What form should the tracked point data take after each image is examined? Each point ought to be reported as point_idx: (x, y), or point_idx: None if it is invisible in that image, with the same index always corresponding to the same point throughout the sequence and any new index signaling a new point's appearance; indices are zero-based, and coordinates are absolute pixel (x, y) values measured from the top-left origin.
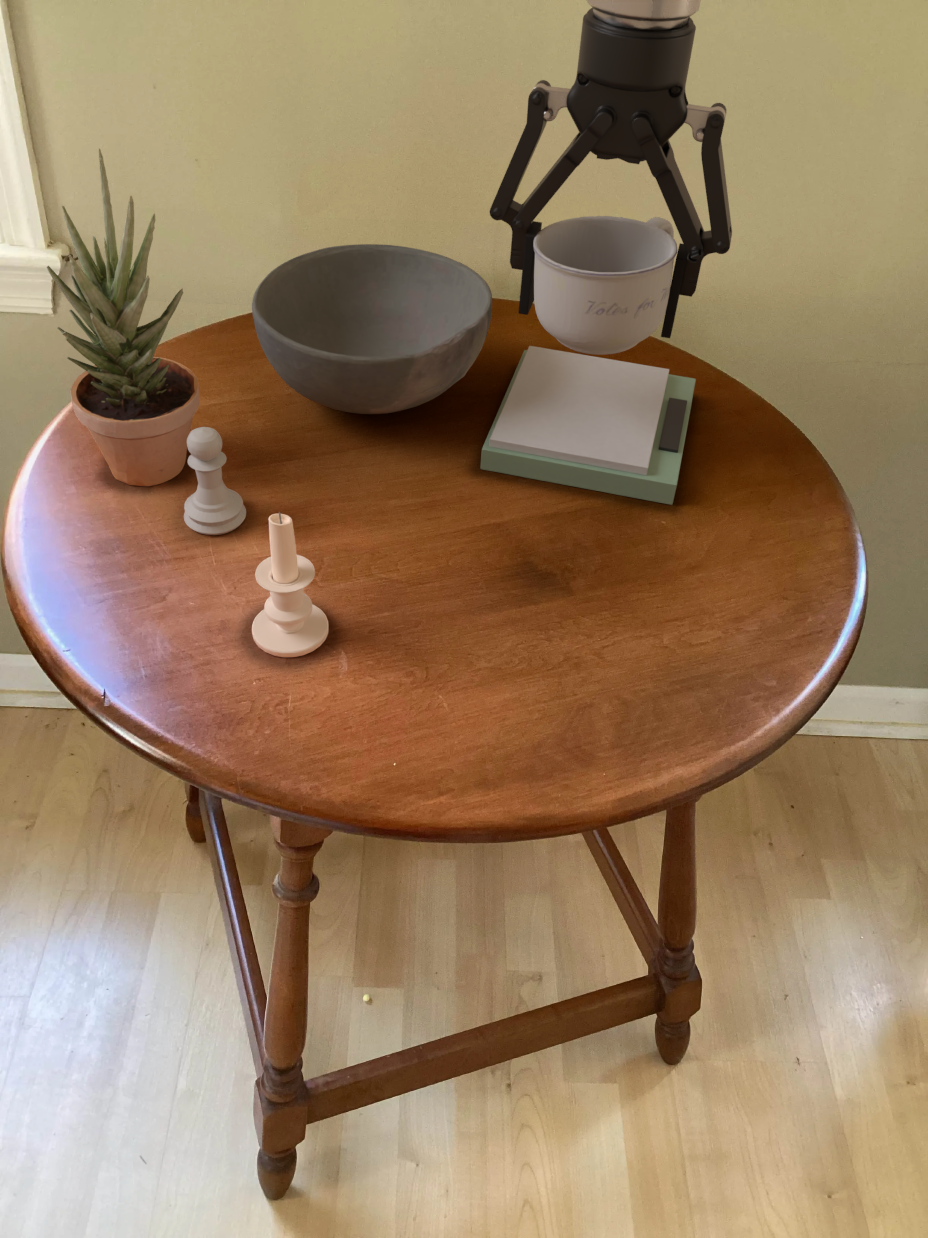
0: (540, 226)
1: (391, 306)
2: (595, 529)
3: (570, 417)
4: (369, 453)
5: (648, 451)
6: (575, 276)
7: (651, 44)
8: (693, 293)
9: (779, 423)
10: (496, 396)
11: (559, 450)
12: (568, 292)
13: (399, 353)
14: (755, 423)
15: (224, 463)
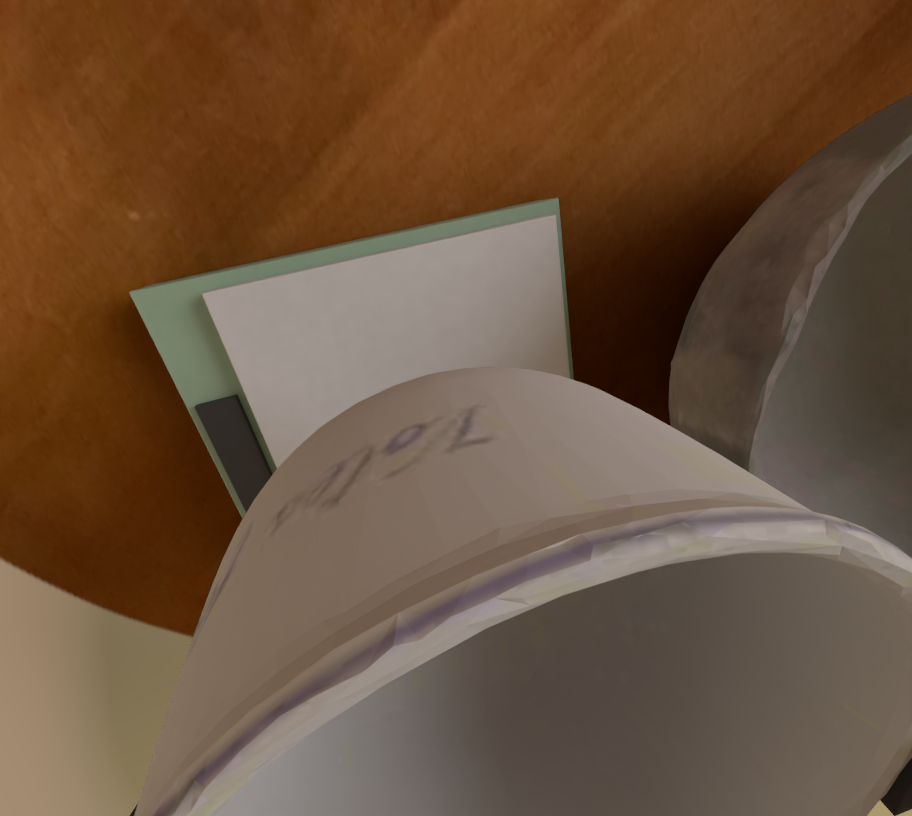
0: (892, 790)
1: (837, 484)
2: (245, 109)
3: None
4: (737, 140)
5: (234, 354)
6: (671, 499)
7: None
8: (133, 811)
9: (131, 616)
10: None
11: (406, 251)
12: (627, 434)
13: (767, 418)
14: (167, 594)
15: None
